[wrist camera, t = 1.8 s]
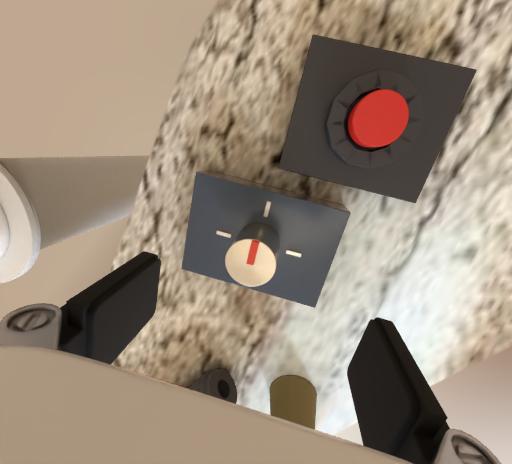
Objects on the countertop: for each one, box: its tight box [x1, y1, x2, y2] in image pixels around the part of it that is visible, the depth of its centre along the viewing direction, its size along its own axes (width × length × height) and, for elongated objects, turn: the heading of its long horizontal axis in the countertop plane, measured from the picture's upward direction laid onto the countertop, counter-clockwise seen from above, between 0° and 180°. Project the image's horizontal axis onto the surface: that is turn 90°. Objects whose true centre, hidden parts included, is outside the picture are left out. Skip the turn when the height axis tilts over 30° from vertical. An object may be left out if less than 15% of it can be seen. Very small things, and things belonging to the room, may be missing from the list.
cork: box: [270, 375, 317, 430], centre depth 27 cm, size 6×6×11 cm
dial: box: [225, 223, 280, 286], centre depth 21 cm, size 4×4×5 cm
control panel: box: [182, 170, 350, 307], centre depth 25 cm, size 14×10×3 cm
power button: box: [348, 89, 409, 147], centre depth 18 cm, size 4×4×2 cm
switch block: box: [279, 35, 477, 203], centre depth 20 cm, size 12×10×4 cm
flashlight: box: [187, 369, 237, 404], centre depth 32 cm, size 15×5×5 cm, turn 132°
